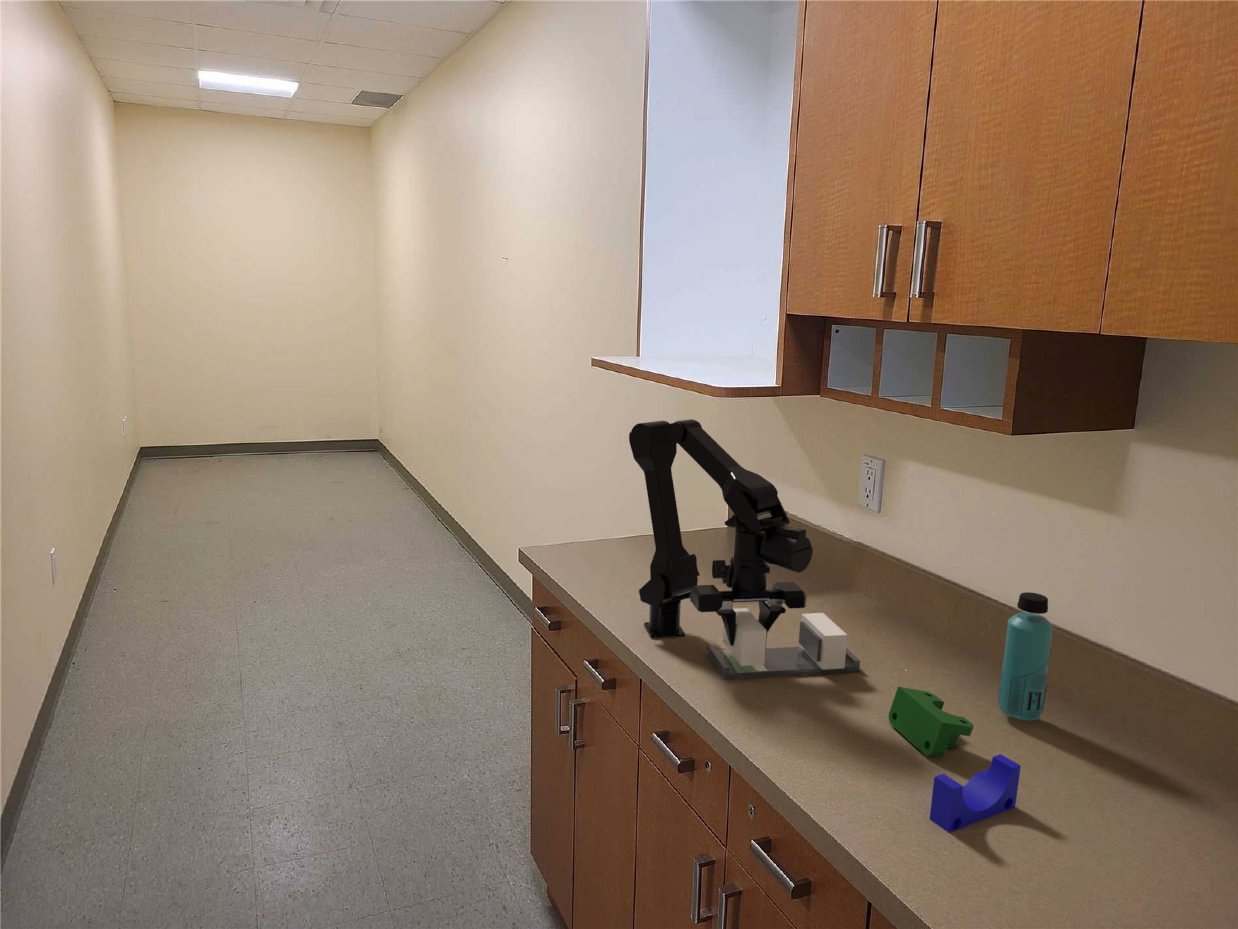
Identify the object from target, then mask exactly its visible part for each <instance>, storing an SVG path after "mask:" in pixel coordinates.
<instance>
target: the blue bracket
mask: <svg viewBox="0 0 1238 929" xmlns="http://www.w3.org/2000/svg"><path fill="white" fill-rule="evenodd" d="M1021 767H1022V765H1021V764H1019V763H1017V762H1015V761H1013V760H1012V759H1011V758H1009V757H1007V756H1005V755H1003V754H1002V753H999V754H997V755H993V756H992V759H991V763H990V766H989V769H985V770H983V771H980V772H977V773H975V774H973V775H972V777H971V778H970V780H969V781H968V782H966V784H964V785H962V784H961V783H959V782H957V781H955V779H952V778H951V777H950V776H948V775H946V774H945V773H941V774H937V775H935V776H934V778H933V786H932V794H931V795H932V796H931V803H930V813H929V820H930V821H931V822H933V823H934V824H935V825H937V826H938V827H940V828H941V829H943V830H945V832H947V833H952V832H954V831H957V830H960V829H962V828H964V827H965V828H966V827H968V826H971V825H972V824H976V823H977V822H981V821H983V820H985V819H988V818H991V817H993V816H996V815H999V814H1001V813H1004V812H1006V811H1009V810H1012V809H1015V808H1016V805H1017V804H1016V803H1017V798H1018V796H1017V795H1018V789H1019V783H1020V782H1019V781H1020V774H1021Z"/></svg>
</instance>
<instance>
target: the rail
mask: <svg viewBox="0 0 1238 929" xmlns="http://www.w3.org/2000/svg"><path fill="white" fill-rule="evenodd" d="M707 654H708V657H707V658H708V659H709V660H710V662H711V663H712V665H713V666H714V667H715V669H716V670H717V672H718V674H719V675H720V676H721V678H722V680H735V679H734V678H740V679H755V678H757V677H758V678H771V677H770V676H775V677H789V676H788V675H792V676H804V675H805V676H806V674H808V675H823V674H824V675H827V674H837V673H838V674H839V673H840V674H841V673H843V674H844V673H855V672H856V673H859V672H860V666H861V665H860V664H861V659H859V658H858V657H857V655H855V654H854V653H852V651H850V650H849V648H847V647H846V656H845V667H844V668H841V669H824V670H822V669H821V668H820V667H819V666H818V665H817V664H816V663H815V662H814V660H813V659H812V658H811V657H810V656H809V655H808V654H807V653H806V652H805V651H804V650H803V649H802V648H801V647H800V646H787V647H786V646H785V647H768V648H767V647H766V656H765V662H764V665H747V666H741V665H740V664H739V662H738V661H737V660H736V658H735V657H734V656H733V654H732V653H731V652H730V650H729V649H722V650H718V649H717V648H716V646H715V645H708V653H707ZM802 674H804V675H802ZM782 675H783V676H782ZM785 675H787V676H785ZM758 678H757V679H758Z"/></svg>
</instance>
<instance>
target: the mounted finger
mask: <svg viewBox="0 0 1238 929" xmlns="http://www.w3.org/2000/svg"><path fill="white" fill-rule="evenodd" d="M798 634H799V636H798V645H799V646H798V647H801V648H802V649H803V650H804V651H805V652H806V653H807V654H808V655H809V656H810V657H811V658H812V659H813V660H814V662H815V663H816V664H817V665H818V666H819V667H820V668H821V669H822V670H824V669H841V668H844V667H845V656H846V648H847V642H848V634H847V633H846V632H845V631H844V630H843V629H841V627H839V626H838V625H837V624H836V623H835V622H834V621H832V619H831V618H829V617H828V615H826V614H825V613H824V612H814V613H813V612H812V613H801V619H800V623H799V633H798Z"/></svg>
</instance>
